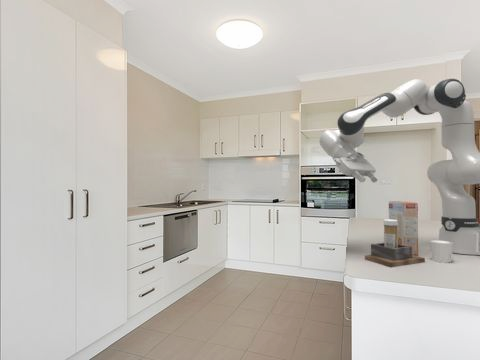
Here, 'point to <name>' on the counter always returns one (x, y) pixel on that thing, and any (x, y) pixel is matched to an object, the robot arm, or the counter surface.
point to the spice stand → (393, 255)
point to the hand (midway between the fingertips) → (369, 181)
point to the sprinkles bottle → (390, 233)
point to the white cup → (441, 250)
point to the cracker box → (406, 223)
